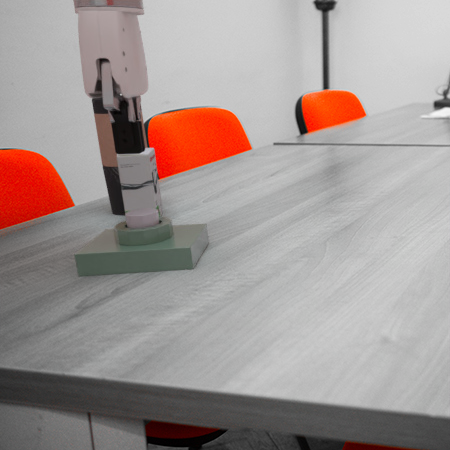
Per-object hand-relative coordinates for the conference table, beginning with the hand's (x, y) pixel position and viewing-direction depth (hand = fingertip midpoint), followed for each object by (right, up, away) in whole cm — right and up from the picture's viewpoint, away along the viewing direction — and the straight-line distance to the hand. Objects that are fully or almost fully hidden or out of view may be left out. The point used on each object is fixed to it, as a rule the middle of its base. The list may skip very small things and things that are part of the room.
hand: (130, 152), depth 74 cm
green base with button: (0, -14, +4) cm, 15 cm away
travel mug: (-14, -7, +30) cm, 33 cm away
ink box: (-8, -9, +23) cm, 26 cm away
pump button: (0, -10, +3) cm, 10 cm away
